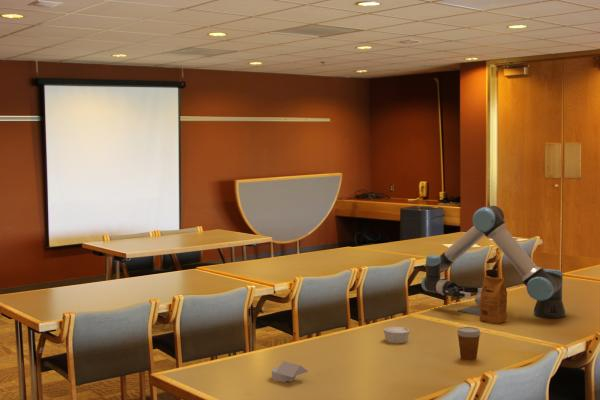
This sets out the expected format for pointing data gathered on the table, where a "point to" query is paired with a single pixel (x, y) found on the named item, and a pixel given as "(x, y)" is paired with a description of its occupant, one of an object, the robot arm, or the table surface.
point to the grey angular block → (287, 372)
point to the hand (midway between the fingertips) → (479, 294)
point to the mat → (471, 310)
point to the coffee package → (493, 300)
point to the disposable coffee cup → (468, 342)
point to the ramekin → (396, 334)
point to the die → (478, 299)
